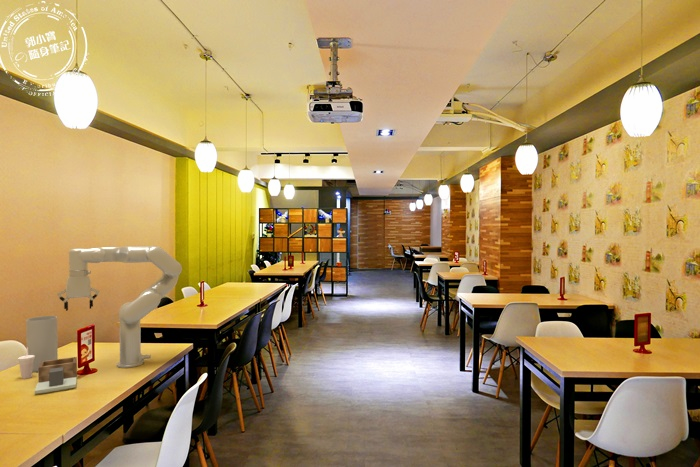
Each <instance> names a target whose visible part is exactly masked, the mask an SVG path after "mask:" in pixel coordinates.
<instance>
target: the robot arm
mask: <svg viewBox="0 0 700 467" xmlns="http://www.w3.org/2000/svg"><path fill="white" fill-rule="evenodd" d="M108 262H109V263H110V262H113V263H114V262H115V263H118V262H119V263H124V264H127V263H128V264H132V263H134V264H136V263H140V264H141V263H152V264H153V265H154V266H155V267H157V268H158V269H159V270H160V271H162V275H161V277H159V279H157V280H156V281H155V282H154V283H152V284H151V285H149V286H148V287H147V288H145V289H144V290H142V291H141V292H140V294H139V296H138V297H137V298H136V299H134V300H133V301H128V302H125V303H123V304H122V305H121V306H120V307H119V310H118V318H119V319H118V320H119V322H118V323H119V361H118V362H117V363H116V368H119V369H120V368H121V369H123V368H126V369H127V368H128V369H129V368H136V367H138V366H141V365H143V364H144V363H145V360H146V359H147V360H149V359H151V358H152V356H151V354H148V353H147V354H144V355H143V354H142V350H141V347H142V345H141V337H142V336H141V332H142V331H141V320H142V319H143V318H145V317H146V316H147V315H149V314H150V313H151V312H153V311H154V310H155V309H156V308H157V307H158V306H159V305H160V303H161V301H162V300H161V299H162V298H164V297H165V296H166V295H168V293H170V292H171V291H172V290H173V289H174V288H175V287H176V285H177V283H178V280H179V277H180V275H181V273H182V270H183V268H182V264H181V263H180V262H179V261H177V259H175V258H174V257H173V256H171V255H170V254H169V253H168V252H167V251H166V250H165V249H163V248H162V247H160V246H157V245H130V246H129V245H126V246H125V245H124V246H118V247H117V246H114V247H113V246H111V247H110V246H109V247H108V246H106V247H105V246H103V247H101V246H100V247H99V246H98V247H92V248H83V247H82V248H78V247H77V248H71V249H69V250H68V267H69V268H68V270H69V272H68V277H67V279H66V286H65V289H63V290H62V291H60V292H57V293H56V295H57V297H58V298H59V299H60V301H62V302H63V305H64V306H63V309H64V310H65V311H67V312H68V310H69V302H68V300H69V299H75V298H78V299H79V298H88V299H89V309H91V310H92V308H93V307H94V300H95V299H96V298H97V297H98V295H99V293H100V290H98V289H95V288H93V287H92V284H91V283H92V282H91V278H90V276H89V275H91V274H92V271H91V270H88V263H89V264H100V263H108ZM92 292H94V295H93V296H92V294H91V293H92ZM63 294H66V295H65V296H66V297H63Z"/></svg>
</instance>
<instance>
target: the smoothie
mask: <svg viewBox="0 0 700 467" xmlns="http://www.w3.org/2000/svg"><path fill="white" fill-rule="evenodd" d="M34 358H35V356H34V355H28V347H27V346H26V355H22V356H20V357H18V358H17V361H18V364H19V370H20V377H21V379H22V380H27V379H31V378H32V376H33V372H32V370H33V362H34Z"/></svg>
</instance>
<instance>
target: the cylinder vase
mask: <svg viewBox="0 0 700 467" xmlns="http://www.w3.org/2000/svg"><path fill="white" fill-rule="evenodd" d="M25 323H26V324H25V325H26V326H25V328H26V329H25V330H26V334H25V335H26V336H25V337H26V348H27V347H28V355H34V356H35V358H34V362H33V370H32V373H37V372H38V367H39V365H40V363H41V361H49V360H56V359H59V358H58V357H59V354H58V316H56V315H44V316H43V315H42V316H35V317H31V318H27V319H26V320H25Z"/></svg>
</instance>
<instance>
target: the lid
mask: <svg viewBox="0 0 700 467" xmlns="http://www.w3.org/2000/svg"><path fill="white" fill-rule="evenodd" d="M77 378H78V377H73V378H67V379H64V370H63V367H60V368H53V369H50V371H49V381H47V382H41V383H39V382H37V383H36V386H35V389H34V395H36V394H39V395H40V394H48V393H51V392H52V393H53V392H58V391H64V390H65V391H66V390H71V389H72V388H77Z"/></svg>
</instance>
